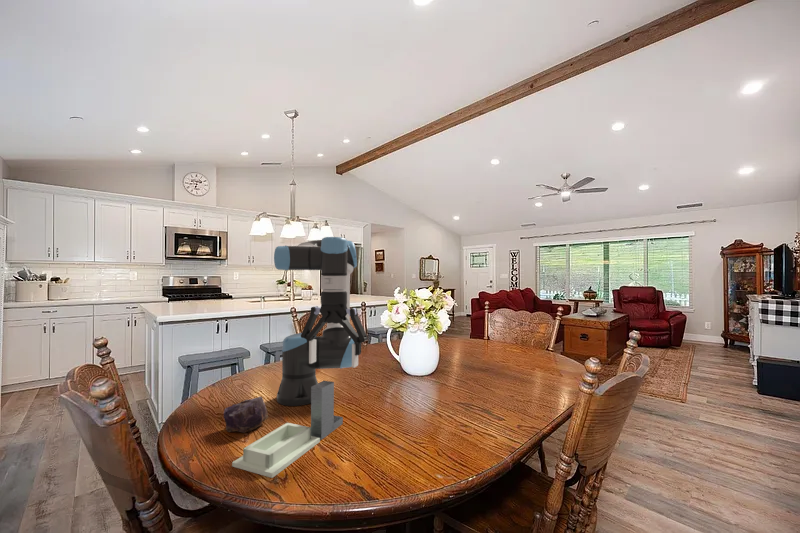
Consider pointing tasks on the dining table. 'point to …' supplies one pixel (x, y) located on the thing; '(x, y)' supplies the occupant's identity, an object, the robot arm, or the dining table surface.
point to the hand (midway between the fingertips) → (333, 364)
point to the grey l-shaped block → (323, 410)
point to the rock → (245, 415)
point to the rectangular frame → (276, 450)
